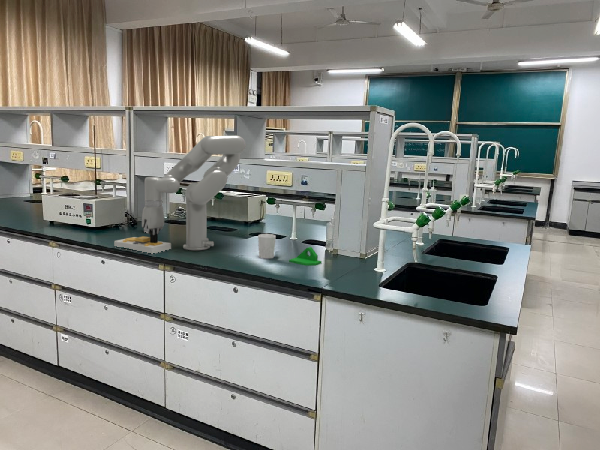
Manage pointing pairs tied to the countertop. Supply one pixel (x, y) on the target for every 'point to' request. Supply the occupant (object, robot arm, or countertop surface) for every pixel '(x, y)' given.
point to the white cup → (266, 245)
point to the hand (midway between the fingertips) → (153, 242)
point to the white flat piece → (143, 246)
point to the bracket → (307, 258)
